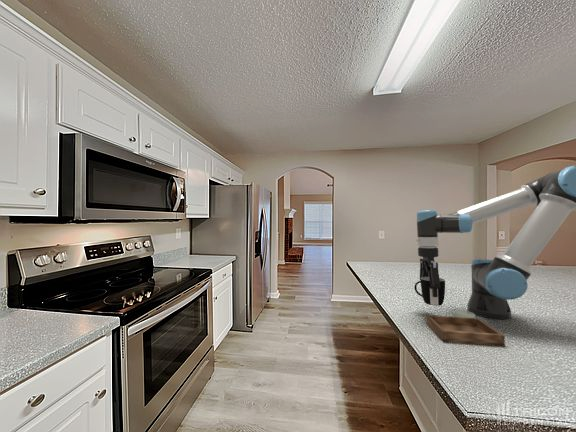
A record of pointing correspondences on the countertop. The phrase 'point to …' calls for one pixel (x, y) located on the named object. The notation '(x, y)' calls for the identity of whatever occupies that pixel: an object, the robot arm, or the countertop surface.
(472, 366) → the countertop surface
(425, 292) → the mug
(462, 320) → the walnut tray
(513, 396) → the countertop surface
